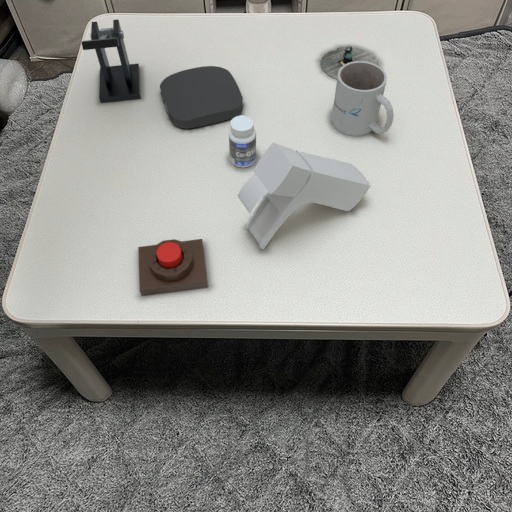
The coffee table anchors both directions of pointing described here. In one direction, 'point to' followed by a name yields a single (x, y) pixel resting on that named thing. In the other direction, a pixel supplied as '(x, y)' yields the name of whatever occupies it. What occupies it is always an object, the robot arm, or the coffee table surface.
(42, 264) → the coffee table surface
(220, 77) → the media streaming box
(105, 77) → the bracket
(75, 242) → the coffee table surface
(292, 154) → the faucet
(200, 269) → the button box
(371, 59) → the sculpture
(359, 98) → the mug
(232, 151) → the pill bottle
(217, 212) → the coffee table surface
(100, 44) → the lever
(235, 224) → the coffee table surface
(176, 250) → the button
